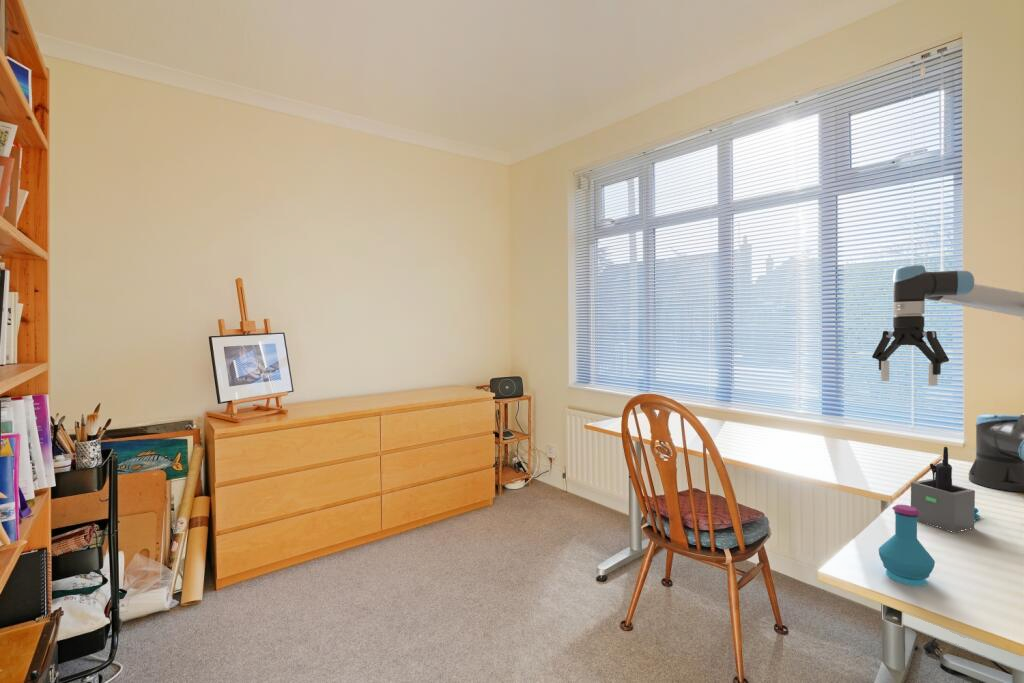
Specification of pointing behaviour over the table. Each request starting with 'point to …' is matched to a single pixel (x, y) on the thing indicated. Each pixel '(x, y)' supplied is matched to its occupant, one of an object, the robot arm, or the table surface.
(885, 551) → the perfume bottle
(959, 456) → the table surface
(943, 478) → the two-way radio
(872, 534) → the table surface
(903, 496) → the table surface
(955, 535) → the table surface
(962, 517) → the charging dock
